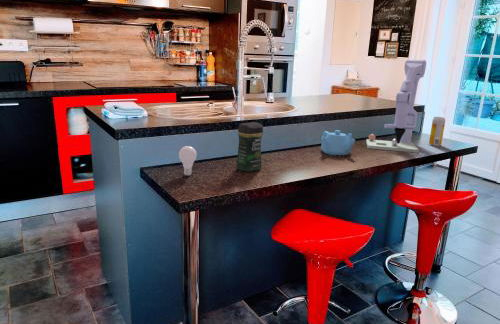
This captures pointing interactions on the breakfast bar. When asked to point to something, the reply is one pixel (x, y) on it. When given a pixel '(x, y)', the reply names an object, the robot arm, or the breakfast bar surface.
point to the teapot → (336, 143)
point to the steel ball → (394, 142)
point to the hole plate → (391, 146)
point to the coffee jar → (249, 146)
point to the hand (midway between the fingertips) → (397, 143)
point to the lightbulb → (187, 158)
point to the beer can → (437, 131)
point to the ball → (371, 137)
